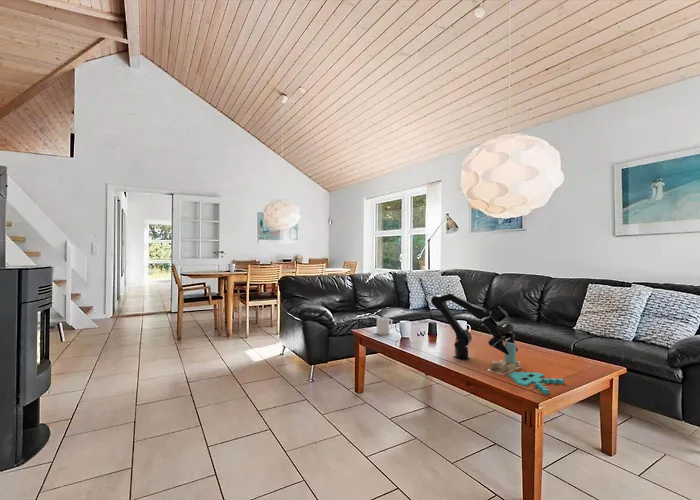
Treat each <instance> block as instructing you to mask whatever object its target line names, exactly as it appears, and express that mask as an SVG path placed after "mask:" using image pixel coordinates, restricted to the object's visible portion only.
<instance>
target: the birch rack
mask: <svg viewBox="0 0 700 500" xmlns="http://www.w3.org/2000/svg"><path fill="white" fill-rule="evenodd" d="M497 361H498V362H503V363H506V367H507V368H508V372H506V373H504V374H503V373H499V372H496V371H492V370H490V368H488V369H487V371H488V372H491V373H496V374H498V375H501V376H506V375H507V374H511V373H513V372H515V371H516V370H518V369H521V368H522V366H521V361H517V360H516V364H514V363H510V362H506V361H505V358H504V360H503V359H502V360H497Z"/></svg>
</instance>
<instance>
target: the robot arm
mask: <svg viewBox="0 0 700 500" xmlns="http://www.w3.org/2000/svg"><path fill="white" fill-rule="evenodd" d="M430 300H431V301H430V302H431V305H433V306H434V308H435V309H437V310H438V311H440V312H441V314H442V316H443V317H444V319H445V320H446V321H447V322H448V324H449V326H450V328H452V330H453V332H454V333H455V336H456V340H457V341H456V342H455V343H454V344H453V345H454V347H455V355H453V358H456V359H459V360H467V359H470V356H469V350H468V349H469V347H468V346H469V344H470V343H471V342H472V341H473V340H472V339H473V338H472V334H471V333H470V332H469V330H468V328H466V329H465V328H463V327H462V326H461V324H460V323H459V322H458V320H457V319H456V317H455V316H454V314H452V312H451V311H450V309H449V307H448V305H447V302H449V301H451V302H452V303H454V304H456V305H458V306H460V307H461V308H463V309H465V310H466V311H468V312H469V313H470V314H471V315H472V316H473V317H475V318H476V319H477V320H479V326H485V328H486V329H487V330H488V334H489V335H491V336H492V337H491V339H490V340H488V345H489V346H490V347H492V348H494V349H496V350H498V351H500V352H502V354H503V353H504V355H505V354H507V355H508V354H509V352H508V351H507V349H506V348H505V344H504V343H505V342H509V343H514V344H516V342H515V337H516V333H515V332H514V330H515V329H514V326H513V324H511V323H507V324H505V326H502V325H499V324H498V323H501V322H502V321H504V320H505V319H507V318H508V317H509V314H508V312H507V311H506V310H505V309H504V308H502V307H500V306H497V307H496V308H494V310H493V311H491V310H488V309H487V308H485V307H483V306H480V305H476V304H473V303H471V302H469V301H468V300H466V299H464V298H462V297H461V296H458V295H456V294H455V293H453V292H449V293H447V294H444V295H441V294H436V295H434V296H432V297H431V299H430ZM497 322H498V323H497ZM518 351H519V349H518V348H517V346H516V353H517V352H518Z"/></svg>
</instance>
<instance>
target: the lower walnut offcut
mask: <svg viewBox="0 0 700 500" xmlns="http://www.w3.org/2000/svg"><path fill="white" fill-rule="evenodd" d="M489 369H490V370H492V371H496V372H499V373H503V374H504V373H506V372H508V368H507V367H506V368H504V369H501V368H497V367H492V366H491V365H490V367H489ZM492 371H491V372H492Z"/></svg>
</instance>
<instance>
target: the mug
mask: <svg viewBox="0 0 700 500" xmlns="http://www.w3.org/2000/svg"><path fill="white" fill-rule="evenodd" d="M392 328H393V319H390V317H386V316H379V317H378V316H377V318H376V333H377V335H380V336H388V335H389V333H390V330H391V329H392Z"/></svg>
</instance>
